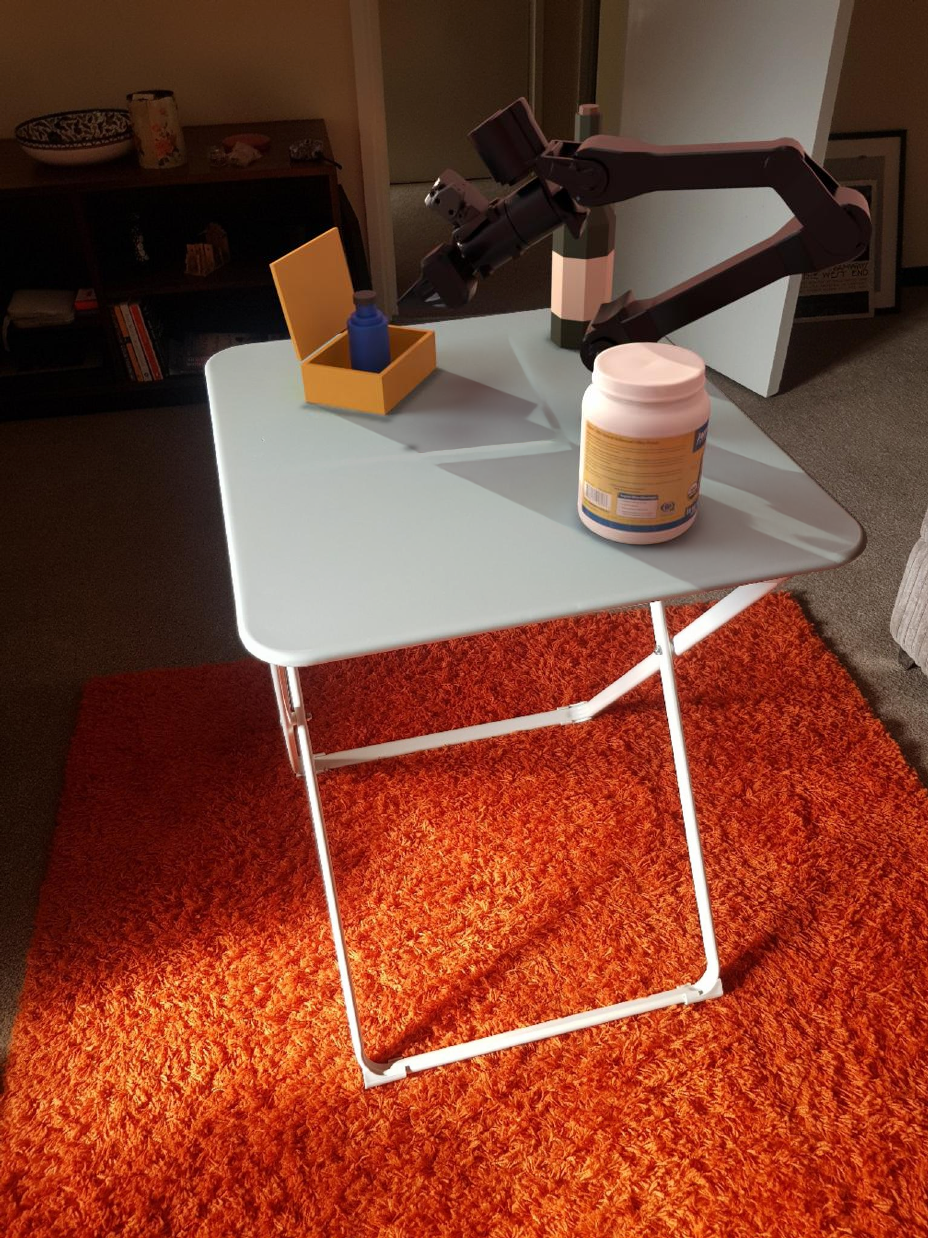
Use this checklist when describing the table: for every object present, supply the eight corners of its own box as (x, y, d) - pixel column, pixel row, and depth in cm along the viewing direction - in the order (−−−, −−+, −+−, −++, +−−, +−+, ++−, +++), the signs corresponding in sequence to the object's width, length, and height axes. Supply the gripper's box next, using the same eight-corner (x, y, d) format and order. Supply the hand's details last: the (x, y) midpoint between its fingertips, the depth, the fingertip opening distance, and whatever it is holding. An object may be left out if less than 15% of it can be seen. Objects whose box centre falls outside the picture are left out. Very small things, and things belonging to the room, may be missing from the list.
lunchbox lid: (337, 226, 126) (313, 229, 127) (273, 263, 114) (247, 266, 116) (360, 317, 132) (336, 319, 134) (301, 361, 121) (276, 362, 123)
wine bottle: (611, 349, 136) (627, 111, 118) (552, 350, 136) (558, 113, 118) (605, 327, 143) (619, 98, 124) (548, 328, 143) (553, 100, 125)
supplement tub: (712, 543, 97) (736, 384, 87) (592, 555, 96) (602, 396, 86) (674, 482, 107) (691, 332, 96) (565, 493, 105) (570, 343, 95)
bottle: (390, 373, 130) (383, 285, 123) (394, 389, 126) (387, 299, 119) (352, 377, 130) (342, 288, 123) (354, 393, 126) (344, 303, 118)
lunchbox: (437, 371, 132) (434, 330, 129) (385, 419, 121) (381, 376, 118) (362, 360, 136) (358, 320, 132) (306, 406, 125) (300, 363, 121)
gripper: (499, 133, 110) (395, 208, 118) (454, 175, 96) (340, 257, 104) (551, 221, 114) (447, 288, 122) (515, 273, 100) (401, 345, 108)
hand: (410, 292), depth 114 cm, fingers open, 9 cm apart
